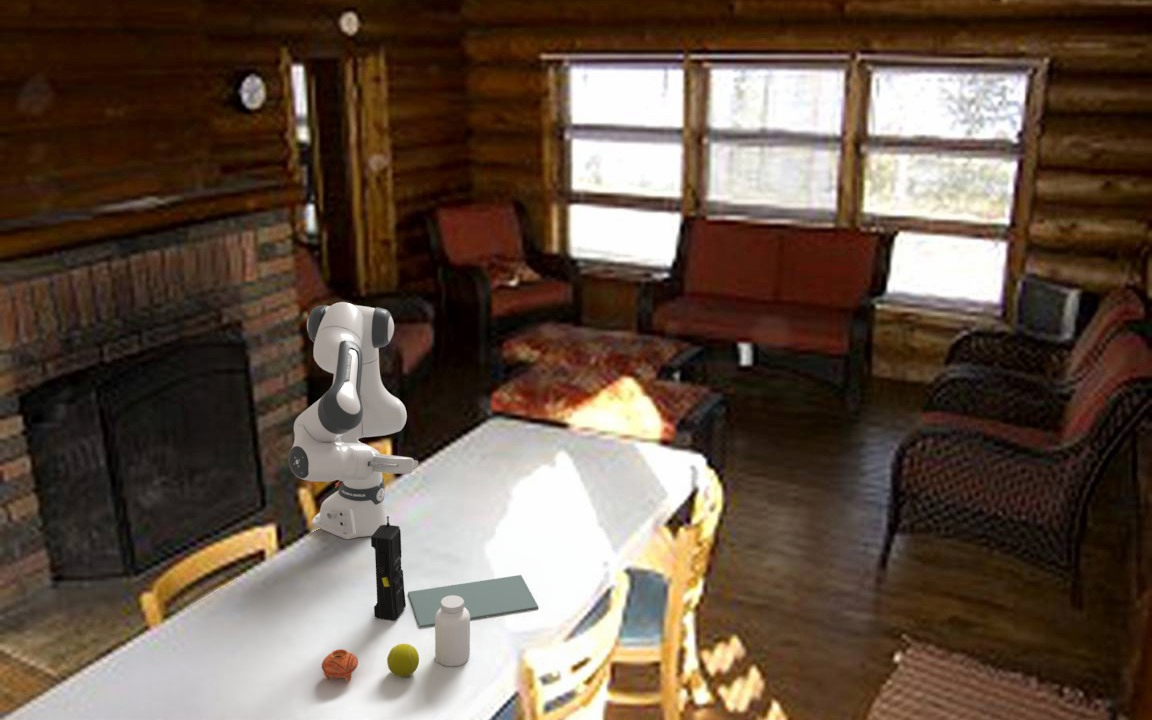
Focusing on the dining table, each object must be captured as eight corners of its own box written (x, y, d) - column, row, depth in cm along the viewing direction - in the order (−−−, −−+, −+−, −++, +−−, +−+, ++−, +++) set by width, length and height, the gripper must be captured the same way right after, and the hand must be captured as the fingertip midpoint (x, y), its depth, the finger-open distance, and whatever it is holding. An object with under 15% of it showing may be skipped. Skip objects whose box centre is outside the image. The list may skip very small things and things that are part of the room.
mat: (419, 627, 247) (419, 625, 247) (408, 593, 262) (408, 591, 261) (538, 608, 257) (538, 606, 256) (521, 576, 271) (521, 574, 271)
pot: (327, 691, 223) (323, 662, 222) (321, 679, 230) (317, 650, 229) (363, 682, 226) (359, 653, 225) (356, 669, 233) (352, 641, 232)
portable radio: (395, 624, 248) (392, 532, 240) (372, 621, 249) (368, 529, 241) (407, 607, 256) (404, 517, 248) (384, 604, 257) (381, 514, 249)
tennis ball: (420, 664, 234) (420, 637, 231) (417, 683, 227) (416, 656, 225) (390, 663, 233) (389, 637, 231) (385, 682, 227) (384, 655, 224)
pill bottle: (455, 671, 231) (455, 614, 226) (428, 660, 235) (427, 603, 230) (477, 654, 237) (476, 598, 233) (450, 643, 241) (449, 587, 237)
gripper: (385, 451, 229) (432, 452, 239) (332, 445, 242) (379, 446, 253) (383, 480, 228) (430, 479, 239) (330, 472, 242) (377, 472, 252)
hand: (403, 462), depth 246 cm, fingers open, 8 cm apart
